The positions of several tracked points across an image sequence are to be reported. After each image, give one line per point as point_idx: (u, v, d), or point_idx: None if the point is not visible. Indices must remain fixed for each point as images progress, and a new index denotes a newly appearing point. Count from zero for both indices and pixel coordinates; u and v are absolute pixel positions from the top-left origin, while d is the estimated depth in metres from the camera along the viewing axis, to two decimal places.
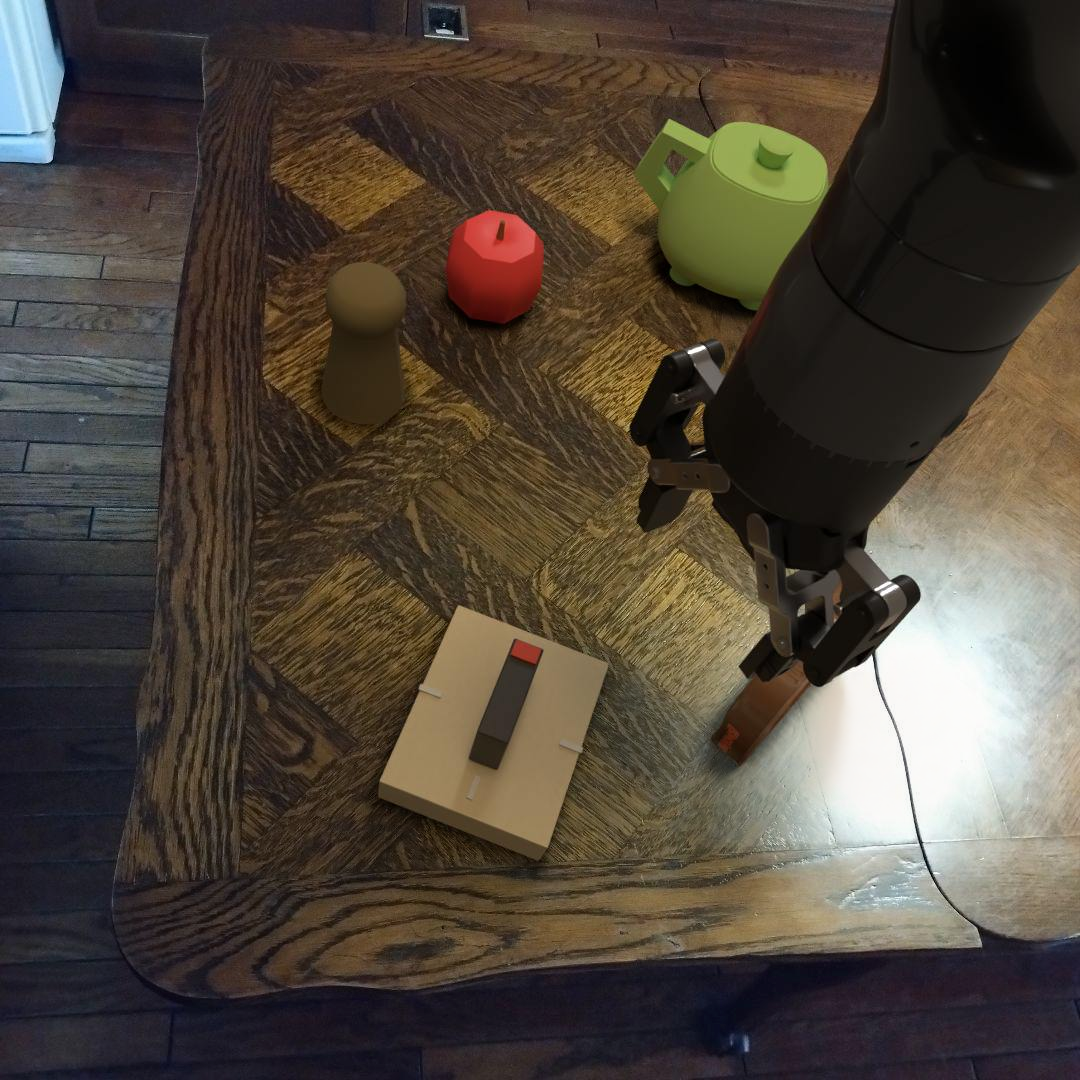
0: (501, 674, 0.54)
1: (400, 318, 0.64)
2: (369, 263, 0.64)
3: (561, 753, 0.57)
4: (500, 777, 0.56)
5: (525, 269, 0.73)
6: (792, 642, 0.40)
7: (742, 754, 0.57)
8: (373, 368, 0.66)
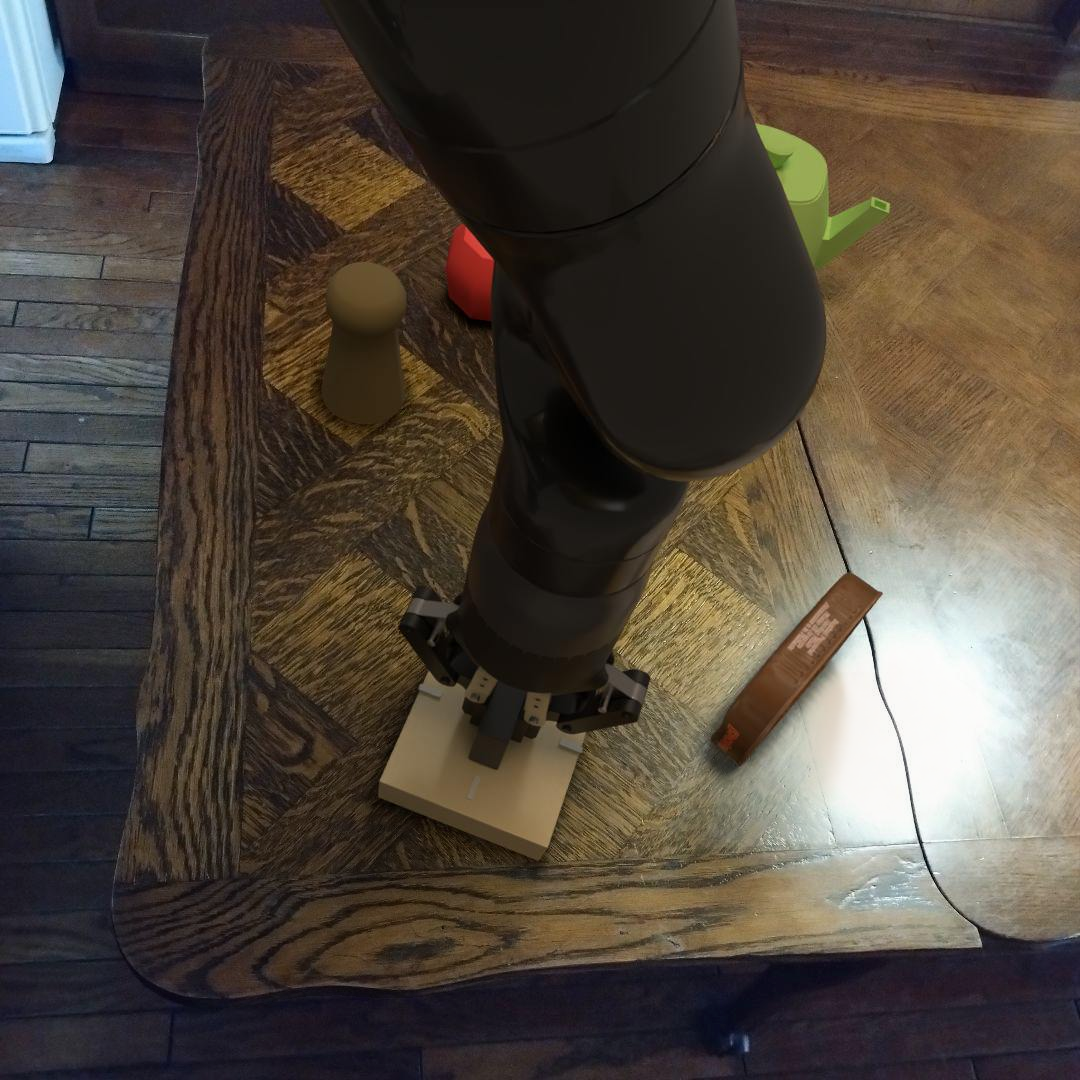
0: None
1: (400, 318, 0.64)
2: (369, 263, 0.64)
3: (561, 753, 0.57)
4: (500, 777, 0.56)
5: None
6: (540, 716, 0.53)
7: (742, 754, 0.57)
8: (373, 368, 0.66)
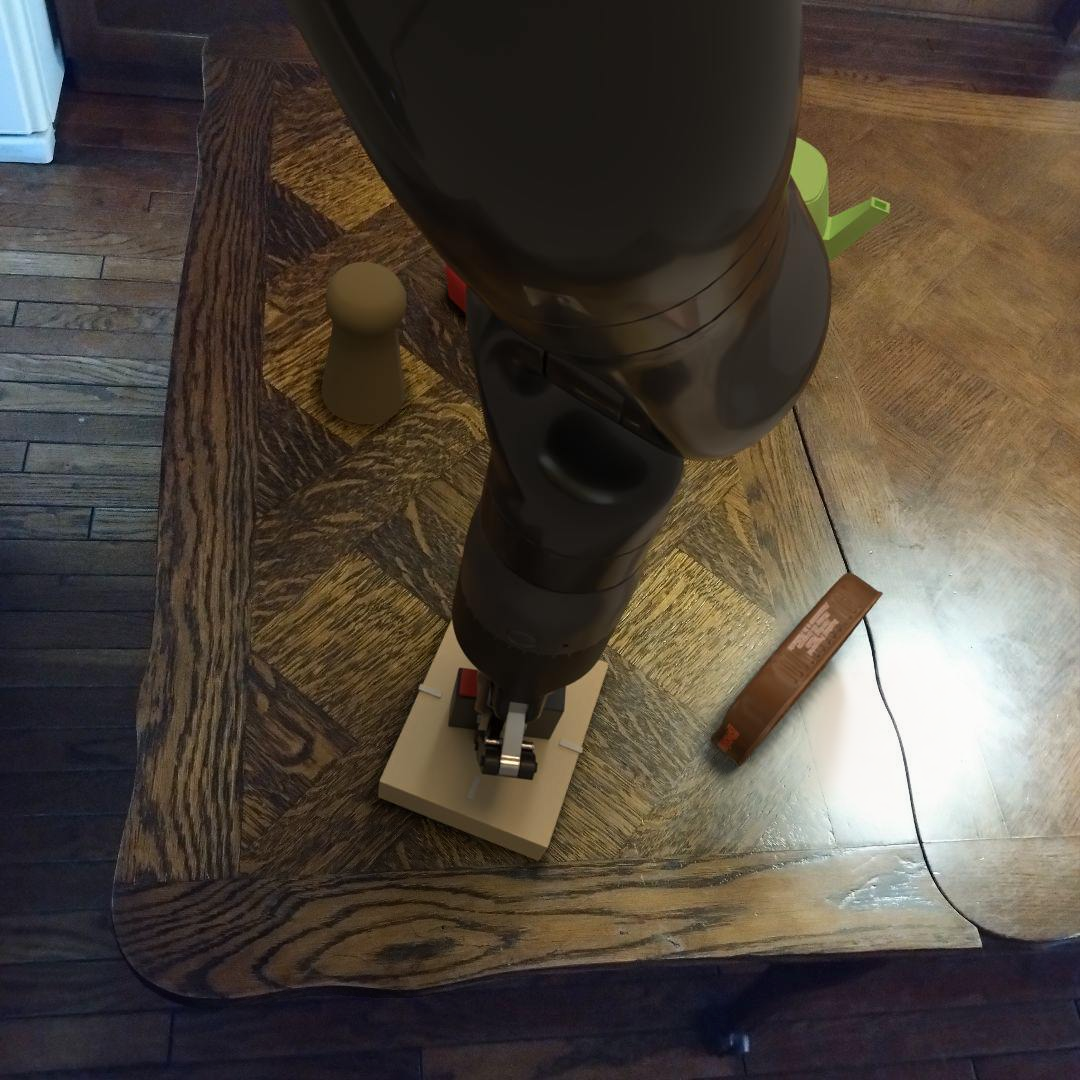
0: None
1: (400, 318, 0.64)
2: (369, 263, 0.64)
3: (561, 753, 0.57)
4: (500, 777, 0.56)
5: None
6: None
7: (742, 754, 0.57)
8: (373, 368, 0.66)
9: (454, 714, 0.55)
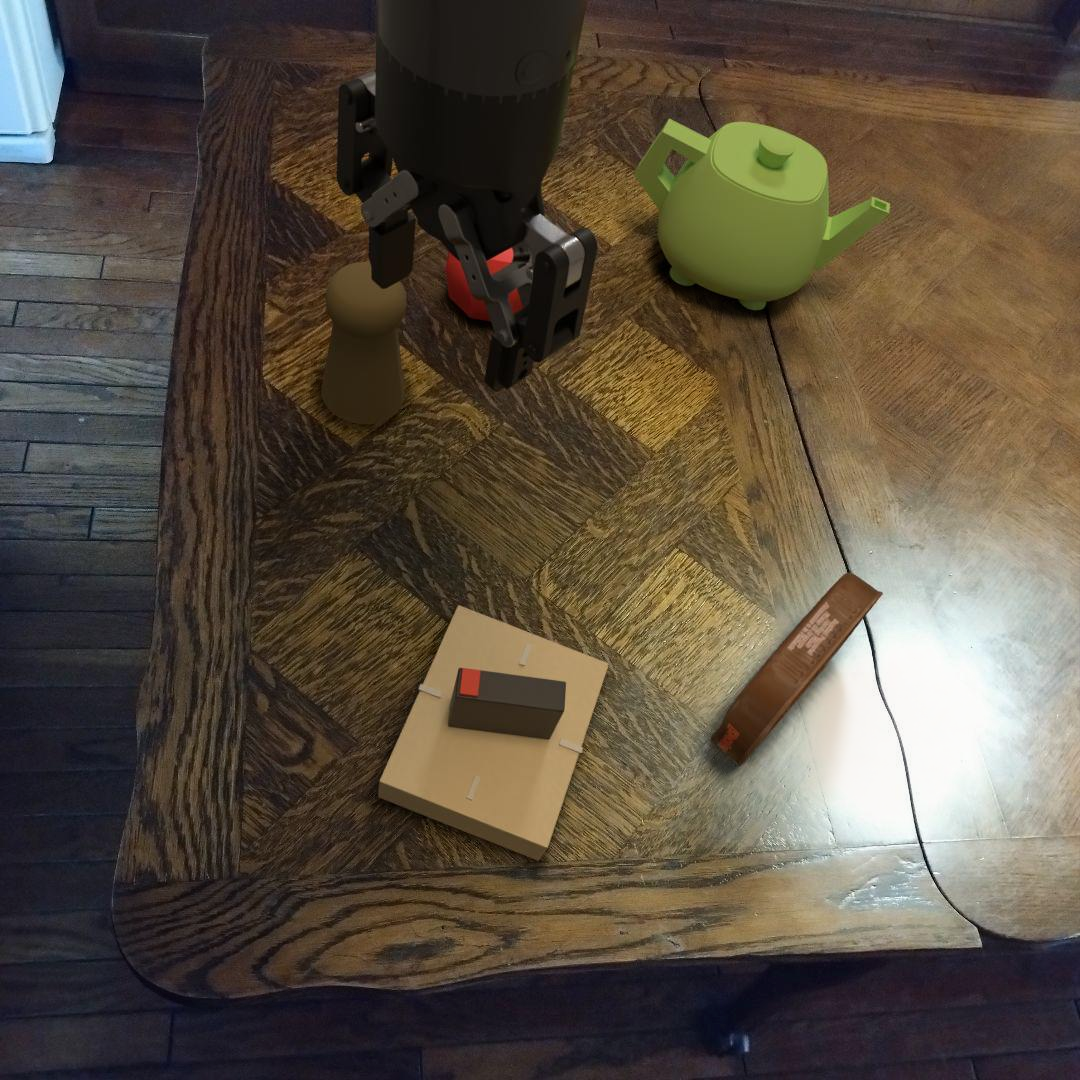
0: (499, 701, 0.53)
1: (400, 318, 0.64)
2: (369, 263, 0.64)
3: (561, 753, 0.57)
4: (500, 777, 0.56)
5: None
6: None
7: (742, 754, 0.57)
8: (373, 368, 0.66)
9: (454, 714, 0.55)
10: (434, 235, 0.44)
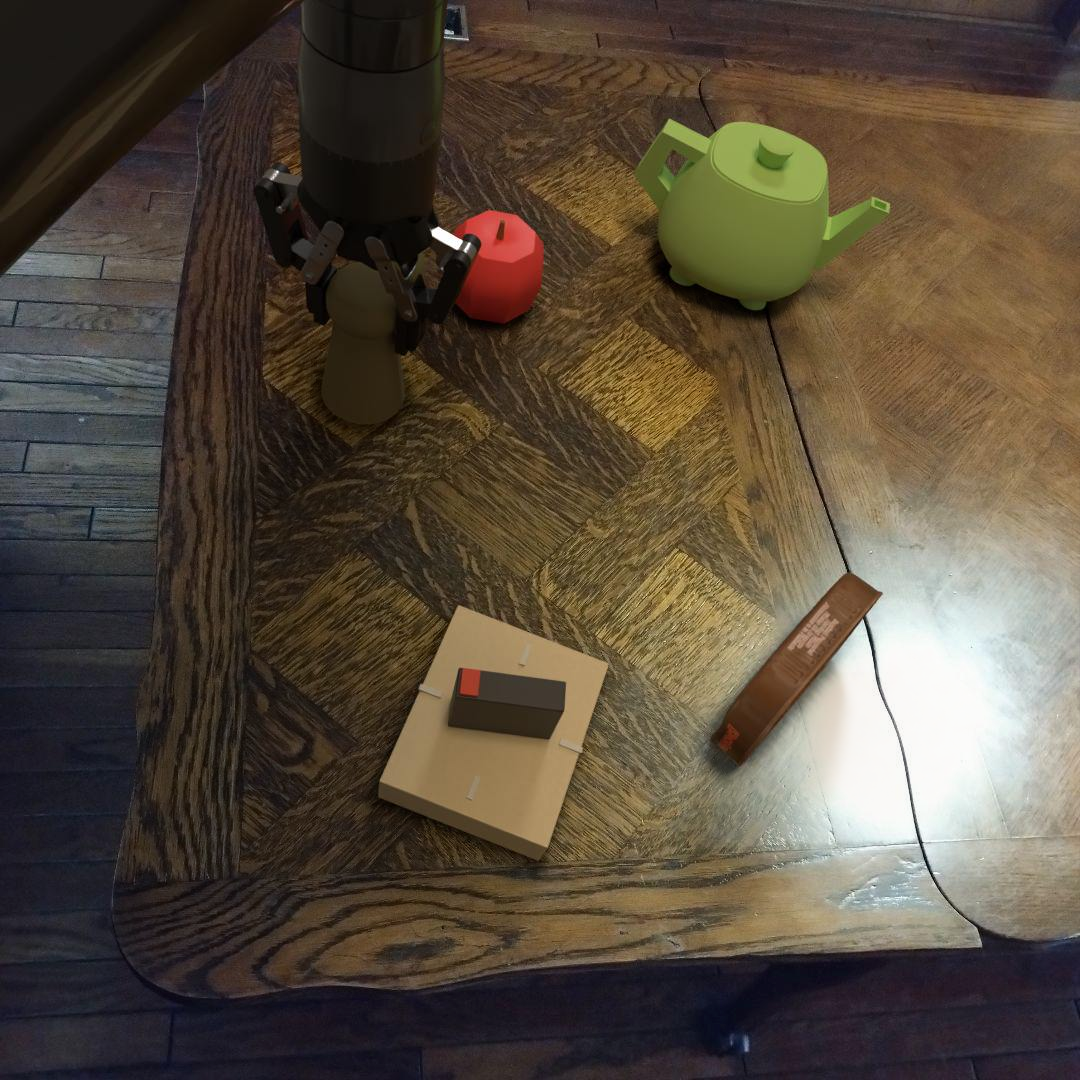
0: (499, 701, 0.53)
1: None
2: None
3: (561, 753, 0.57)
4: (500, 777, 0.56)
5: (525, 269, 0.73)
6: None
7: (742, 754, 0.57)
8: (373, 368, 0.66)
9: (454, 714, 0.55)
10: (354, 259, 0.60)
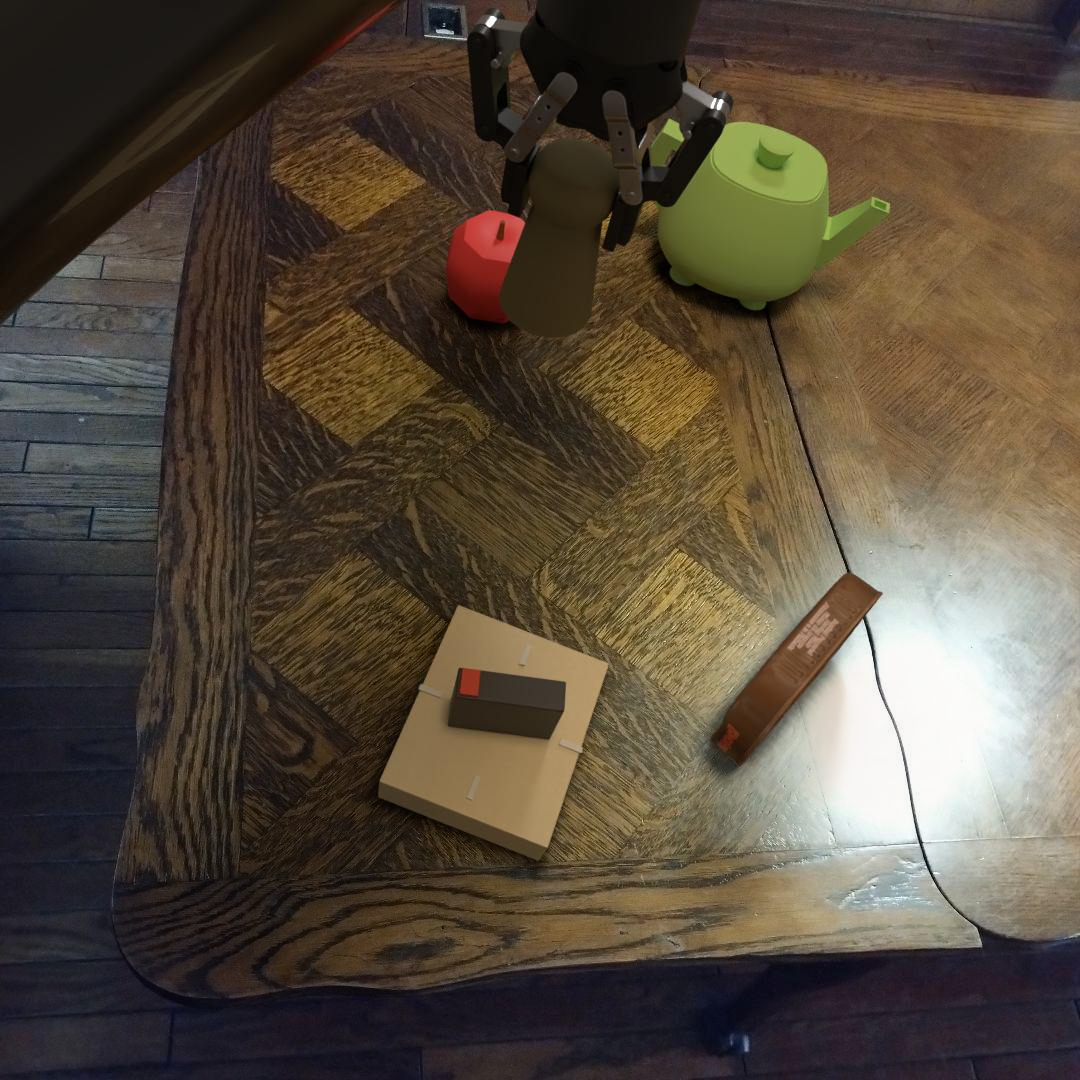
0: (499, 701, 0.53)
1: None
2: (579, 139, 0.55)
3: (561, 753, 0.57)
4: (500, 777, 0.56)
5: None
6: None
7: (742, 754, 0.57)
8: (574, 266, 0.57)
9: (454, 714, 0.55)
10: (577, 126, 0.51)
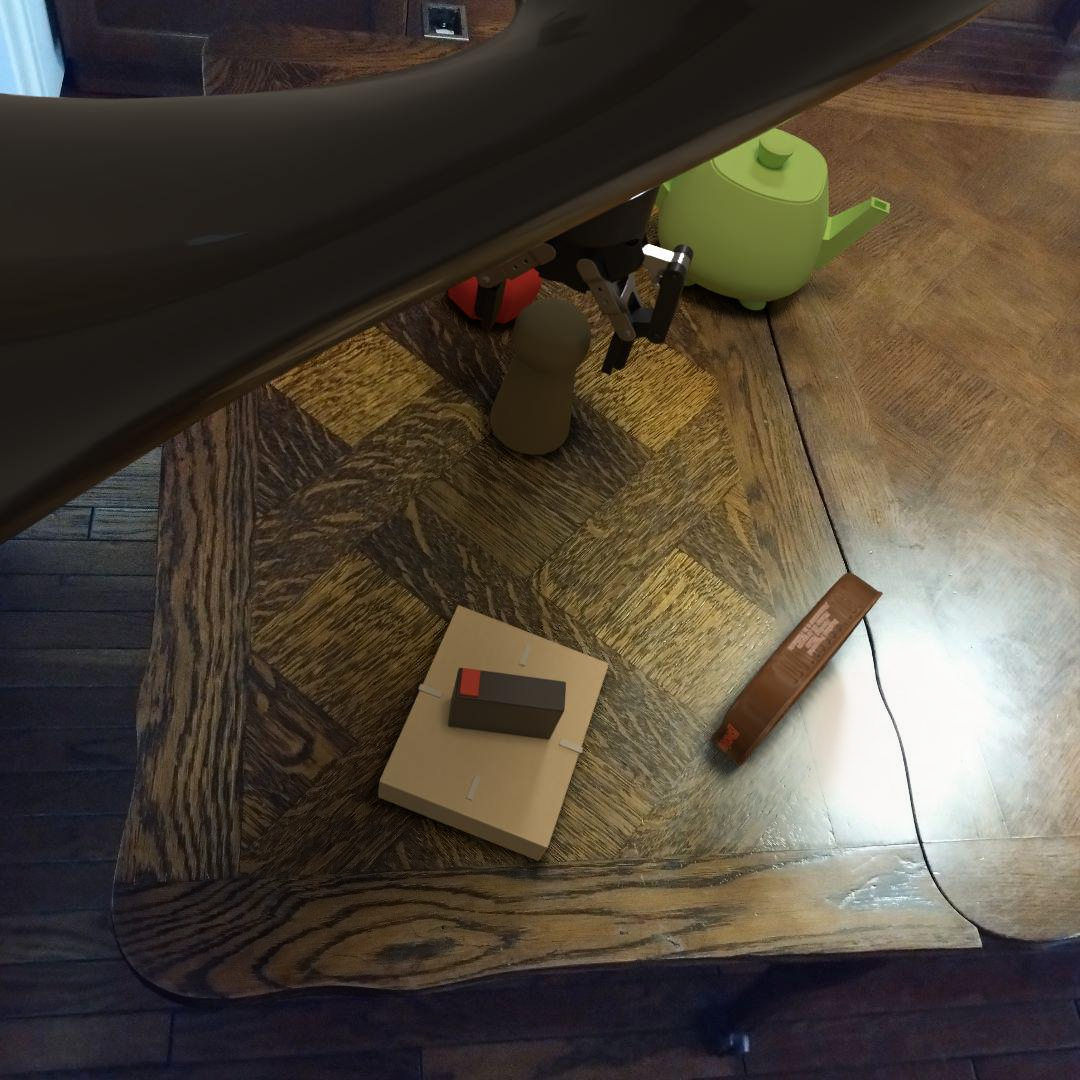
0: (499, 701, 0.53)
1: (586, 353, 0.65)
2: (556, 299, 0.65)
3: (561, 753, 0.57)
4: (500, 777, 0.56)
5: None
6: None
7: (742, 754, 0.57)
8: (552, 401, 0.68)
9: (454, 714, 0.55)
10: (556, 280, 0.60)
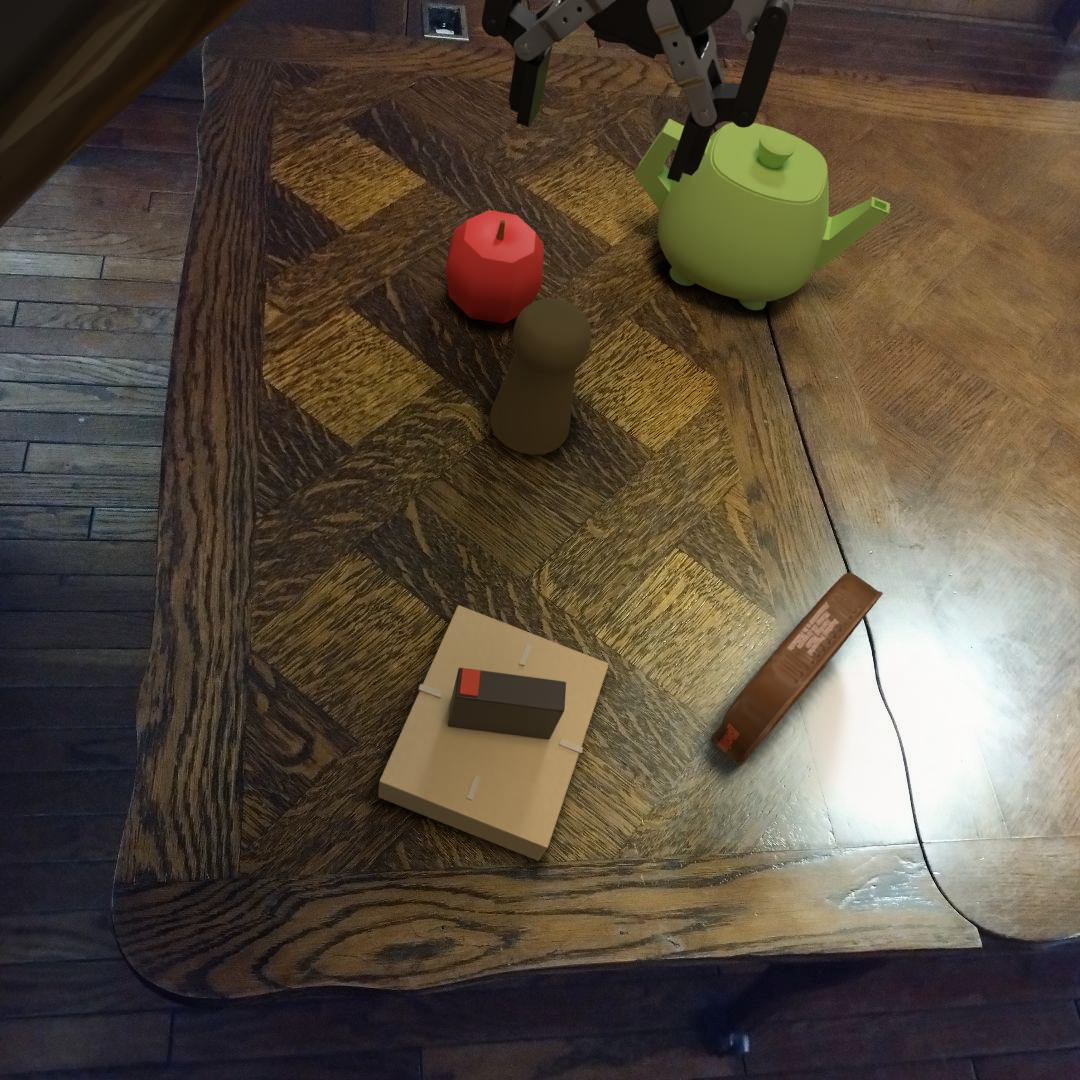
0: (499, 701, 0.53)
1: (586, 353, 0.65)
2: (556, 299, 0.65)
3: (561, 753, 0.57)
4: (500, 777, 0.56)
5: (525, 269, 0.73)
6: (536, 13, 0.49)
7: (742, 754, 0.57)
8: (552, 401, 0.68)
9: (454, 714, 0.55)
10: (617, 40, 0.47)
